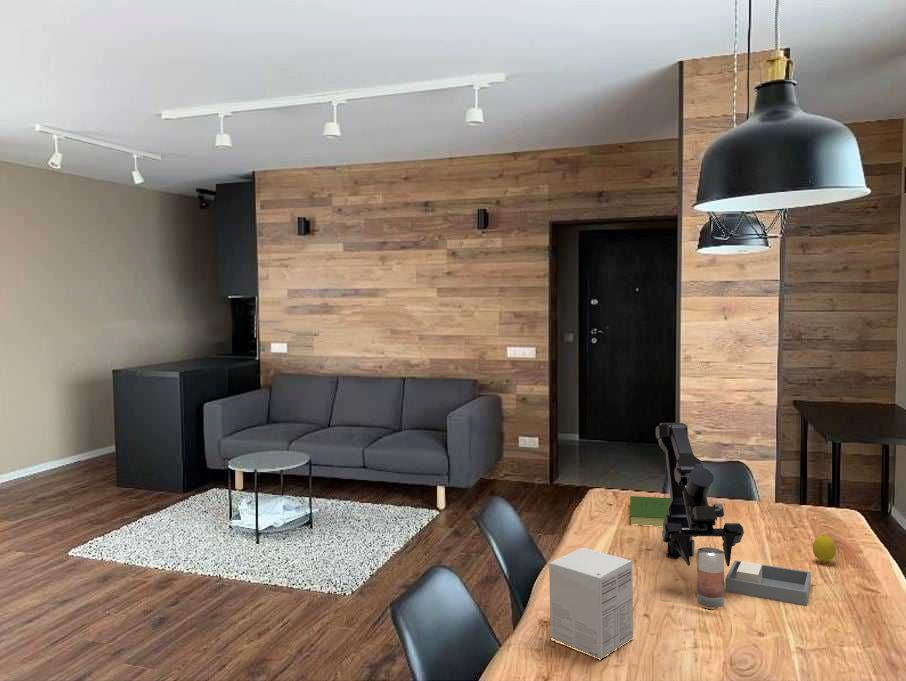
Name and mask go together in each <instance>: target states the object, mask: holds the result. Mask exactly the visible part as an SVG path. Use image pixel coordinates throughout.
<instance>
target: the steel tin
mask: <svg viewBox="0 0 906 681" xmlns="http://www.w3.org/2000/svg"><path fill="white" fill-rule="evenodd" d="M696 558H697V559H696V560H697V561H696V562H697V563H696V566H697V567H696V584H697V585H696V587H697V588H696V590H697V591H696V592H697V593H696V594H697V597H696V599H697V603H698V604H700V605H702V606H703V607H702V606H701V607H702V609H703V608H704V609H703V610H706V609H708V610H707V611H713V610H715V609H713V608H719V607H724V605H725V556H724V550H722V549H720V548H719V549H718V548H716V547H709V546H708V547H707V546H706V547H700V548H697V550H696ZM704 606H705V607H704Z"/></svg>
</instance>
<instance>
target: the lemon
mask: <svg viewBox="0 0 906 681" xmlns="http://www.w3.org/2000/svg"><path fill="white" fill-rule="evenodd" d="M836 551H837V550H836V545H835V542H834V540H833V539H832V537H830V536H829V535H826V534H821V535H818V536H817V537H816V538H814V540H813V544H812V552H813V554H814V556H815V558H816V559H817V560H818V561H820V562H822V563H823V564H826V563H827V562H830V561H832V560H833V559H834V558H835V556H836Z"/></svg>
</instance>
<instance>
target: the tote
mask: <svg viewBox="0 0 906 681" xmlns="http://www.w3.org/2000/svg"><path fill="white" fill-rule="evenodd" d="M741 561H742V560H733V563H732V564H731V566H730V569H729V570H728V573H727V574H726V576H725V577H724V592H726V593H732V594H738V595H745V596H749V597H755V598H762V599H766V600H770V601H778V602H782V603H783V602H784V603H789V604H795V605H799V606H807V605H808V600H809V596H810V591H811V584H812V573H811V571H807V570H805V571H804V570H800V569H794V568H788V567H781V566H774V565H773V566H772V565H769V564H762V582H761V583H755V582H749V581H743V580H737V569H738V567H739V565H740V563H741Z"/></svg>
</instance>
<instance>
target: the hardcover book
mask: <svg viewBox="0 0 906 681" xmlns="http://www.w3.org/2000/svg"><path fill="white" fill-rule="evenodd" d="M629 497H630V498H629V499H630V500H629V503H630V504H629V517H630V525H631V524H638V525H653V526H663V522H664V519H665V515H666V511H667V509H668V507H669V505H670V503H671V498H670V497H661V496H660V497H657V496H636V495H635V496H633V495H630V496H629Z"/></svg>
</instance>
